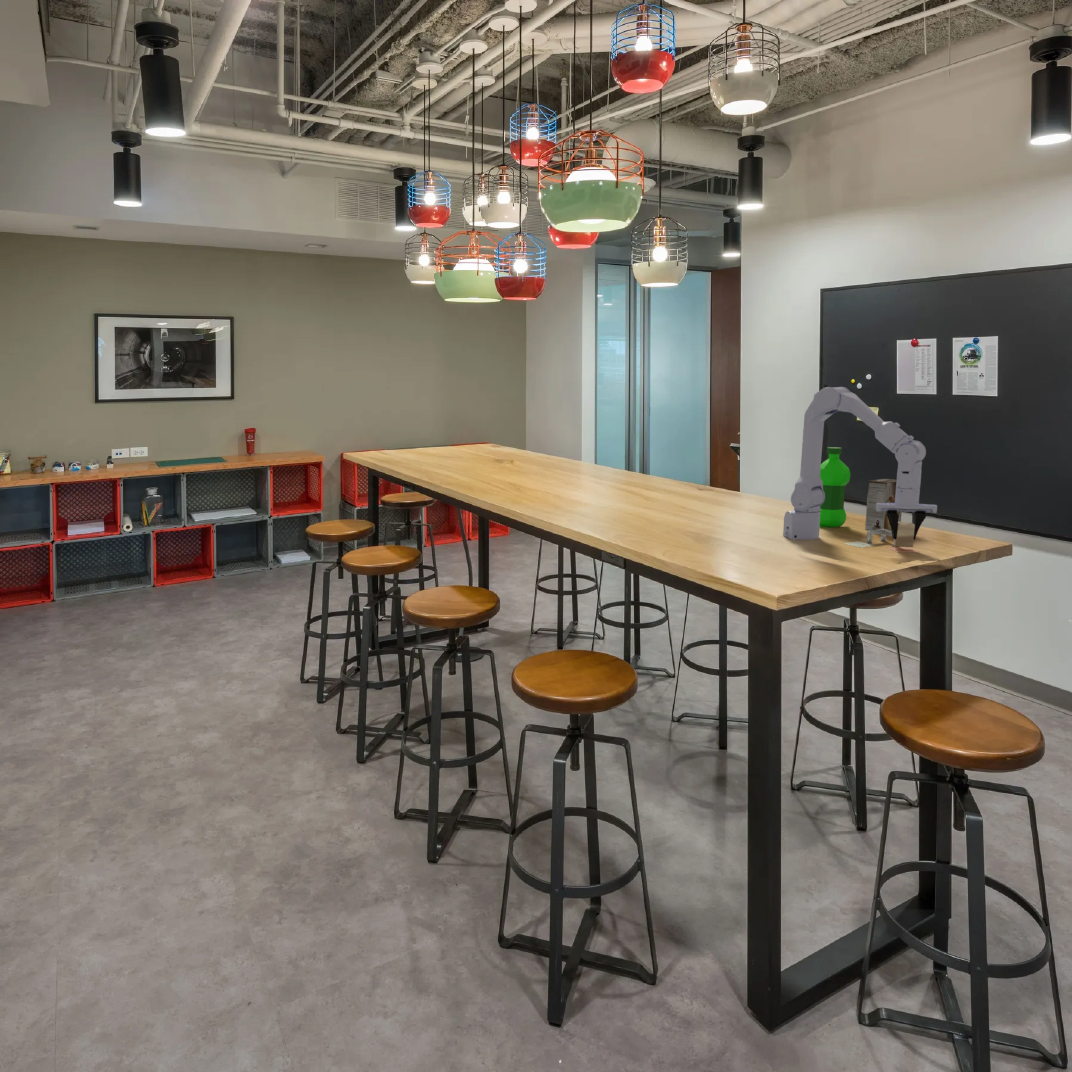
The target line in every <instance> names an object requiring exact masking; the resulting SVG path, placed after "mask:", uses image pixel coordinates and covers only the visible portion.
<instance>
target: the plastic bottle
mask: <svg viewBox="0 0 1072 1072" xmlns="http://www.w3.org/2000/svg"><path fill="white" fill-rule="evenodd" d="M826 449H827V451H826V454H827V455H828V458H827V459H826V460H824V461H823V462H821V468H820V478H821V480H822V482H823V491H824V493H825V500H824V502H823V504H822V505H820V509H821V511H820V527H819V528H841V527H842V526H843V525H844V524H845V523H846V521H847V513H846V510H845V508H844V507H845V493H846V486H847V484H849V483H850V479H851V471H850V468H849V467H848V466H847V465H846V463H844V462H843V461H842V460H841V459H840V455H842V452H843V451H842V449H843V448H842V447H839V446H838V447H835V446H833V447H831V446H827V447H826Z"/></svg>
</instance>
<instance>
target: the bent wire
mask: <svg viewBox="0 0 1072 1072" xmlns="http://www.w3.org/2000/svg"><path fill="white" fill-rule="evenodd" d="M873 535H880V539H879V541H880V542H886V541H887V536H889V537H891V538H892V532H891V531H889V530H887V529H879V530H871V531H869V530H866V542H865V543H868V544H873ZM892 544H893V543H892ZM892 547H896V546H895V545H894V544H893V545H892Z"/></svg>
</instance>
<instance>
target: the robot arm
mask: <svg viewBox="0 0 1072 1072" xmlns="http://www.w3.org/2000/svg"><path fill="white" fill-rule="evenodd" d="M838 412H843V413H844V412H845V413H850V414H852V415H853V416H855V417H856V418H857V419H859V420H860V421H861V422H862V423H864V424H865V425H866V426H867V427H870V429H872V430H873V431H874V437H875V439H876V440H877V441H878V442H879V443H881V444H882V445H883V446H884V447H885V448H886V449H887V450H889V452H891V453H892V454H894V456H895V459H896V461H897V472H896V480H897V483H896V494H895V503H876V511H886V515H887V517H888V520H889V523H890V526H891V531H892V537H891V539H892V540H894V539H896V538H897V525H898V519H899V515H898V513H897V512H903V513H904V512H905V513H907V512H908V513H910V512H911V522H912V523H913V524H914V525H915V529H914V541H915V540H916V538H917V534H918V532H919V529H920V528H921V525H922V524H923V523H924V521H925V519H926V518H927V513H932V514H937V513H938V512H937V511H938V505H937V504H929V503H928V504H927V503H926V504H925V503H920V493H921V491H920V490H921V480H922V465H923V460H924V459H925V457H926V455H927V449H926V447H925V445H924V444H923V443H922V442H921V441H919V440H914V438H915V437H914V436H913V435H909V434H908V433H906V432H905V431H904V430H903V429H901V425H900V423H898V422H894V421H884V420H883V419H882V418H881V417H880V416H879V415H878V414H876V413H875V411H873V410H872V409H871V408H870V406H868V405H867V404H866V403H865V402H864V401H863V400H862V399H861V398H860V397H859V396H858V395H857V394H856V393H853V392H851V391H850V389H848V388H847V387H844V386H837V387H835V386H834V387H832V386H831V387H830V386H827V387H823V388H822V389H820V390H819V391H817V392H816V393H814V395H813V399H812V401H811V402H810V404H809V405H808V407H807V409H806V410H805V413H804V418H803V430H802V444H801V445H802V446H801V457H800V458H801V459H800V470H799V471H800V473H799V476H798V477H799V478H798V479H797V480H796V482H795V484H794V490H793V492H792V493H791V496H790V502H791V505H792V507H793V509H792V510H787V511H786V512H785V513H784V516H783V517H784V518H783V530H782V531H783V532H782V533H783V534H782V535H783V537H785V538H786V539H790V540H818V539H820V528H821V527H820V511H821V509H820V505H822V504H823V502H824V500H825V493H824V491H823V482H822V480H821V478H820V468H821V464H822V455H823V454H822V453H823V452H822V451H823V440H824V429H825V421H826V420H827V419H829V418H830V417H831V416H833V415H834V414H835V413H838Z"/></svg>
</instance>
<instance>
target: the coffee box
mask: <svg viewBox="0 0 1072 1072" xmlns="http://www.w3.org/2000/svg"><path fill="white" fill-rule="evenodd" d="M867 482H868V483H867V494H866V496H867V498H866V510H865V511H866V513H865V524H864V525H865V527H864V530H865V531H871V530H879V529H887V530H889V531H891V526H890V523H889V520H888V517H887V515H886V511H876V503H895V494H896V483H897V479H893V478H892V479H891V478H881V479H880V478H879V479H873V480H868V481H867ZM897 513H898V515H899V519H898V522H902V512H897ZM891 532H892V531H891Z"/></svg>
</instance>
